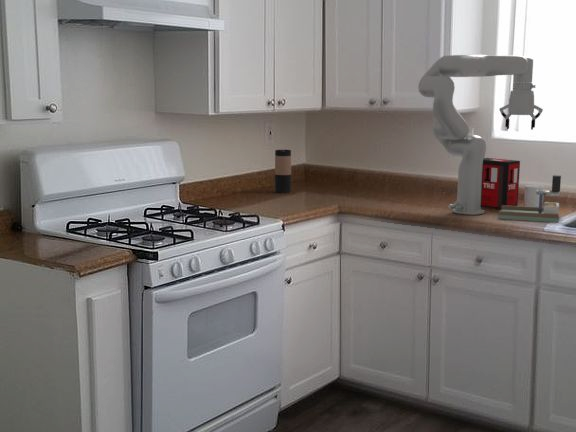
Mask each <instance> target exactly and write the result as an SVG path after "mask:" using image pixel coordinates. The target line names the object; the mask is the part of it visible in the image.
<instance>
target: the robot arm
mask: <svg viewBox="0 0 576 432" xmlns="http://www.w3.org/2000/svg"><path fill="white" fill-rule="evenodd" d="M533 70H534V59H533V57H531V56H523V55H495V54H493V55H492V54H455V55H454V54H453V55H443V56H441V57H440V58H439V59H437V60H436V61H435V62H434V63H433V64H432V66H431V67H430V68H428V70H427V71H426V72H425V73H424V75H422V77H421V78H420V79H419V81H418V87H417V89H418V92H419V94H420V95H421V96H423V97H425V98H433V104H432V114H433V116H434V118H435V119H434V121H433V122H432V123H433V124H432V132H433V135H434V136H435V139H437V141H438V142H439V143H440V144H441V146H443V148H444V149H445V150H446V152H447V153H449V154H450V155H452V156H454V157H458V158H461V160H460V163H459V165H458V169H457V171H458V172H457V174H458V175H457V191H456V192H457V194H456V195H457V197H456V201H454V203H450V204H448V206H447V207H448V209H449V210H452V212H453V213H455V214H460V215H470V216H472V215H473V216H474V215H476V216H477V215H483V214H485V209H483V208H482V207H481V190H482V170H483V160H484V158H485V155H486V151H487V144H486V140H485V139H484V138H483V137H481V136H480V135H476V134H471V133H470V126H469V124H468V122H467V121H466V120H465V119H464V117H463V116H462V115H461V113H460V112H459V111H458V110H457V108H456V107H455V105H454V102H453V99H454V93H455V82H454V81H453V79H452V78H475V77H478V78H480V77H482V78H483V77H494V76H513V77H512V78H513V79H512V90H510V93H509V99H508V104H506V105H504V106H502V107H500V108H499V112H500V115H501V116H502V117H503V118H504V119H505V123H504V124H505V126H504V127H505V128H506V130H509V129H510V117H511V116H530V117H531V120H530V121H531V123H530V124H531V126H530V130H534V128H535V127H536V120H537V119H538V118H539V117H540V116H541V114H542V113H543V111H544V109H543V108H541V107H540V106H538V105H535V93H534V90H533V89H535V88H536V84H534V83H533ZM506 109H507V111H508V112H507V113H508V114H506V113H505V112H504V110H506ZM535 110H537V111H538V112H537V113H536V114H534V112H535Z"/></svg>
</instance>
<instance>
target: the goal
mask: <svg viewBox="0 0 576 432" xmlns="http://www.w3.org/2000/svg"><path fill="white" fill-rule="evenodd" d="M543 202H544V201H543ZM547 205H554V206H547ZM543 207H544V213H547V214H559V215H560V211H559V210H560V202H550V201H549V202H548V201H545V202H544V205H543Z"/></svg>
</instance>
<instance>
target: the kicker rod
mask: <svg viewBox="0 0 576 432" xmlns="http://www.w3.org/2000/svg"><path fill="white" fill-rule="evenodd" d="M561 179H562V175H558V174H554V175H552V180H551V181H552V184H551V190H545V189H544V190H537V191H536V194H537V195H540V196H539V213H542V207H543V202H544V196H552V197H553V196H556V197H557V196H559V195H560V193H561ZM543 195H544V196H543Z"/></svg>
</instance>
